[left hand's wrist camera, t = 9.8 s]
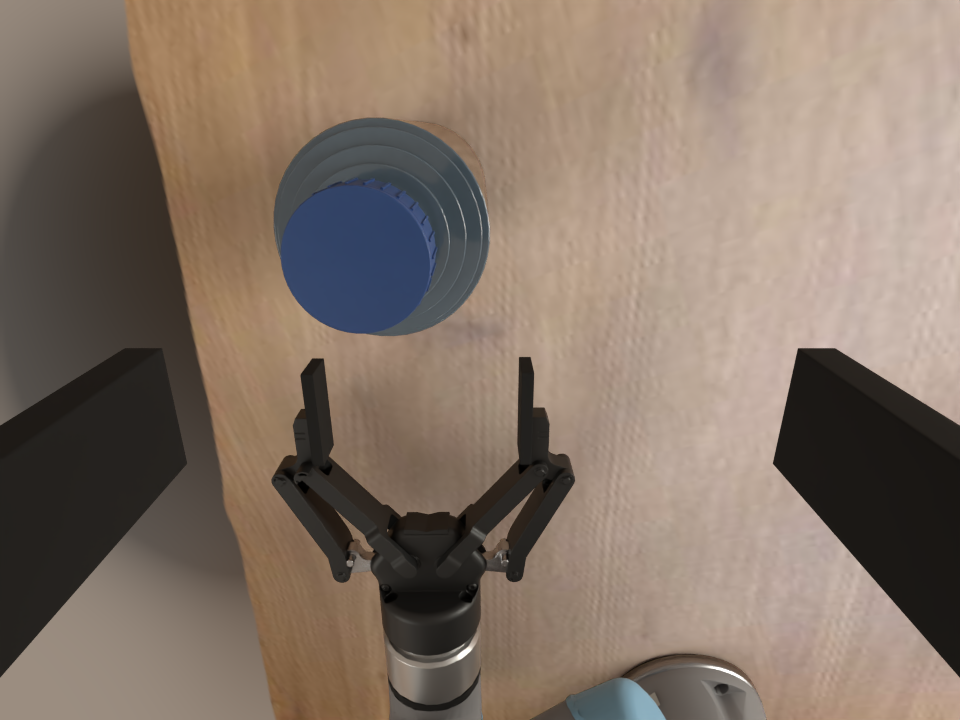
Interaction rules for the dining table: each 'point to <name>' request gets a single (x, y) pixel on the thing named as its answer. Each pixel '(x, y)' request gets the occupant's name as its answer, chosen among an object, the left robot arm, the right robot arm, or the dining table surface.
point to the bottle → (426, 179)
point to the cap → (359, 255)
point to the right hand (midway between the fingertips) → (419, 364)
